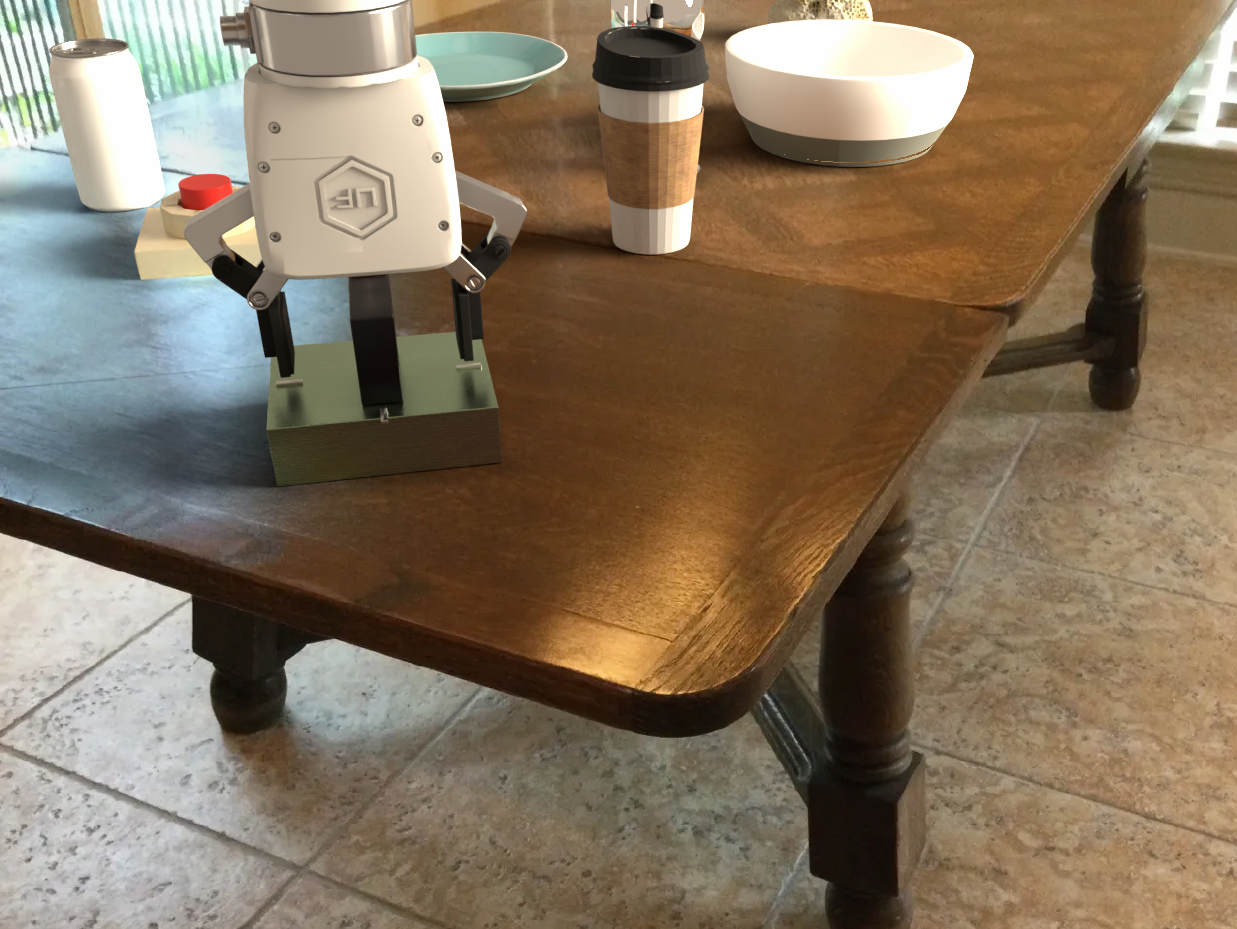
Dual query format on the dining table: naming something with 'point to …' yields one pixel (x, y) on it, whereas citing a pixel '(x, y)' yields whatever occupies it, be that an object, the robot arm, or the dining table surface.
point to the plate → (487, 62)
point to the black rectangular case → (374, 339)
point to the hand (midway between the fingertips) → (377, 358)
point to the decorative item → (819, 10)
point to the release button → (204, 190)
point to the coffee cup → (650, 133)
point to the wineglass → (661, 17)
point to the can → (106, 124)
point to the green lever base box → (381, 413)
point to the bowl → (845, 89)
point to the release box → (183, 242)
